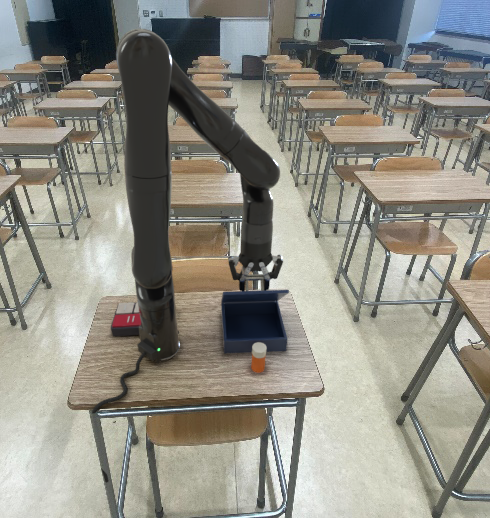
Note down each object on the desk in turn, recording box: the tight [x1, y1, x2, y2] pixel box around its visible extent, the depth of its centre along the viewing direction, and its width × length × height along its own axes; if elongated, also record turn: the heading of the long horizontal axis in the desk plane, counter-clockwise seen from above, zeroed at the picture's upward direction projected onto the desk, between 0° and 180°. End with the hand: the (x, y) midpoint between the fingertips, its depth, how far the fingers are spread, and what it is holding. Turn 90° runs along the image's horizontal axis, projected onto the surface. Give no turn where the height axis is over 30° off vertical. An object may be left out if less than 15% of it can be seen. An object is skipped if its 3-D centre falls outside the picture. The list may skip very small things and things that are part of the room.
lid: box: [220, 273, 290, 304], centre depth 108 cm, size 16×17×5 cm
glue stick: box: [250, 342, 267, 374], centre depth 99 cm, size 4×4×8 cm
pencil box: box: [220, 300, 288, 354], centre depth 111 cm, size 16×17×5 cm
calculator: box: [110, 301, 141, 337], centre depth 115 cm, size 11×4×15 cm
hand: (253, 290), depth 104 cm, fingers closed on lid, 5 cm apart
